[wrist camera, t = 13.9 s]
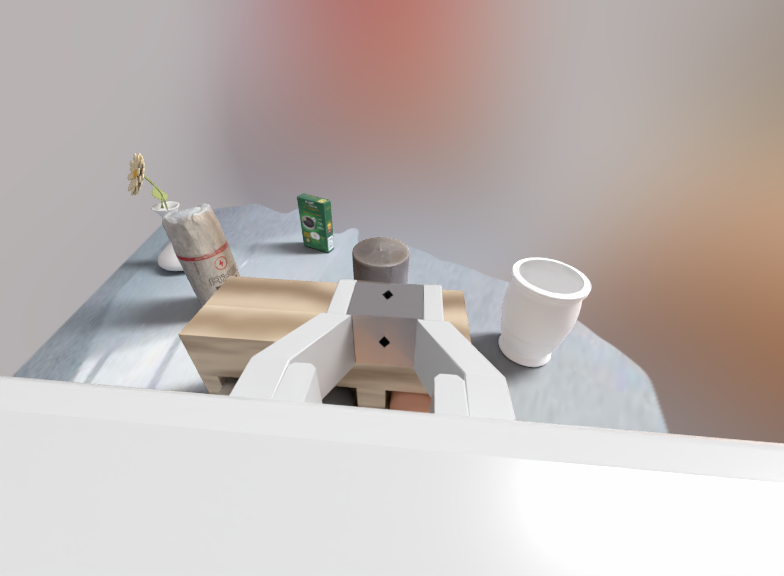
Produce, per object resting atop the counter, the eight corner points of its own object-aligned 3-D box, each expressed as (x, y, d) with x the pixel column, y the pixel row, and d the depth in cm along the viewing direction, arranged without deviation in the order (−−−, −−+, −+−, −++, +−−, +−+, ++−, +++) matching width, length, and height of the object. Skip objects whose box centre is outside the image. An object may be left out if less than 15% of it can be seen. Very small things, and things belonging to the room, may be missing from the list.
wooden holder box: (449, 455, 40) (473, 356, 29) (231, 434, 41) (178, 334, 31) (445, 387, 48) (463, 291, 37) (263, 372, 49) (229, 276, 39)
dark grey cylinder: (347, 452, 33) (344, 426, 30) (300, 447, 34) (292, 421, 31) (356, 409, 37) (353, 382, 34) (314, 405, 38) (308, 378, 35)
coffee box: (336, 248, 81) (331, 198, 73) (329, 253, 79) (323, 202, 71) (310, 241, 84) (303, 192, 76) (303, 246, 82) (295, 196, 74)
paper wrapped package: (207, 326, 57) (162, 223, 46) (197, 303, 63) (153, 205, 51) (254, 308, 62) (224, 209, 50) (241, 288, 67) (210, 194, 55)
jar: (571, 361, 52) (609, 286, 43) (522, 382, 49) (553, 306, 40) (524, 321, 60) (548, 251, 51) (479, 336, 56) (497, 264, 48)
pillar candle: (347, 306, 63) (341, 238, 54) (389, 291, 67) (391, 225, 58) (370, 337, 56) (368, 265, 47) (416, 318, 60) (422, 249, 51)
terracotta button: (434, 436, 35) (438, 409, 32) (388, 431, 35) (388, 404, 32) (433, 396, 39) (437, 369, 36) (392, 393, 39) (392, 365, 36)
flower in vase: (165, 255, 77) (113, 144, 62) (217, 247, 81) (179, 140, 66) (155, 284, 67) (91, 161, 53) (214, 274, 71) (170, 155, 56)
